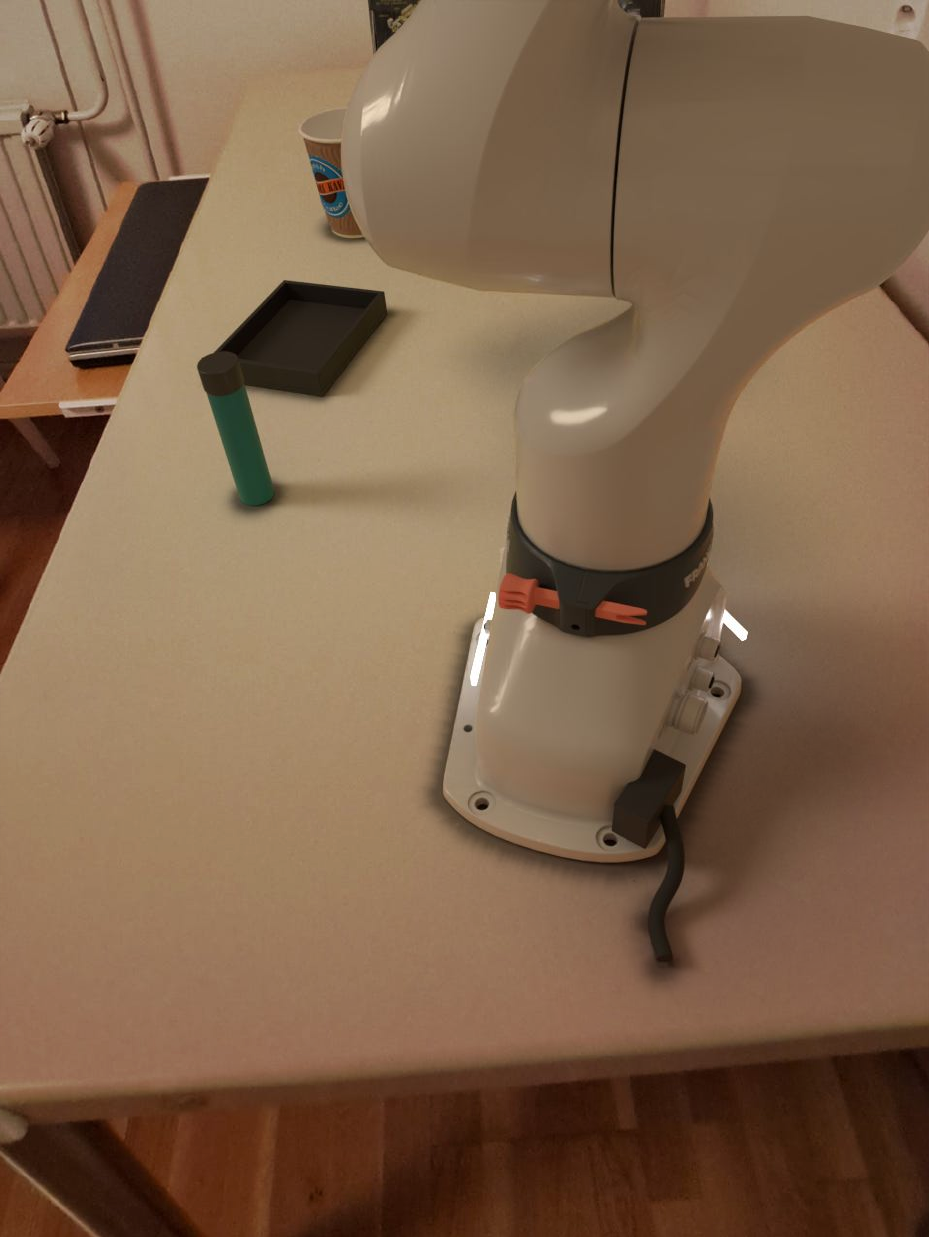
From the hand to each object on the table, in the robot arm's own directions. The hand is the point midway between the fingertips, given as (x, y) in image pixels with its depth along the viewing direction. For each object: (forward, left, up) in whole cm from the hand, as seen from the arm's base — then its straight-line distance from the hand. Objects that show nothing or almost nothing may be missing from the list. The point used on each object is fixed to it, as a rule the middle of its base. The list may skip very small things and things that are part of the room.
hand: (493, 13), depth 66 cm
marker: (-20, +16, -31) cm, 41 cm away
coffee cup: (+30, +29, -31) cm, 52 cm away
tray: (+3, +23, -31) cm, 39 cm away
